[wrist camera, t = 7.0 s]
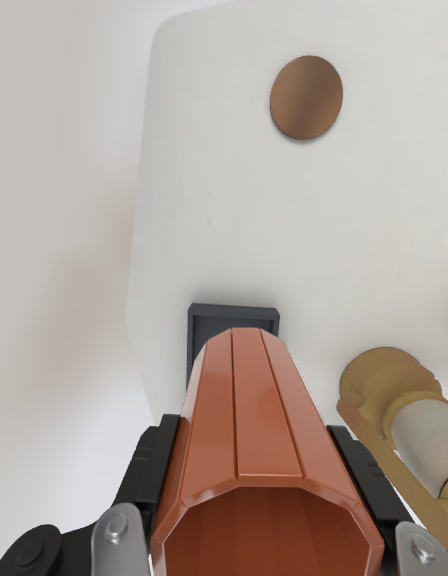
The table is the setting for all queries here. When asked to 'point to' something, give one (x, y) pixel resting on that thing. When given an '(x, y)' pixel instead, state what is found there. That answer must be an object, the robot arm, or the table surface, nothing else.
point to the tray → (223, 325)
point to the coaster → (306, 97)
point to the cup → (258, 474)
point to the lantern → (402, 428)
